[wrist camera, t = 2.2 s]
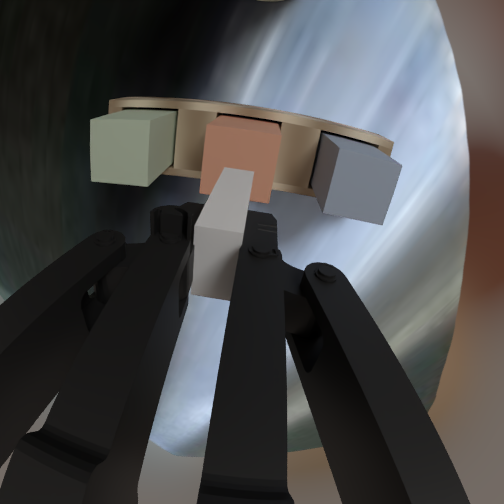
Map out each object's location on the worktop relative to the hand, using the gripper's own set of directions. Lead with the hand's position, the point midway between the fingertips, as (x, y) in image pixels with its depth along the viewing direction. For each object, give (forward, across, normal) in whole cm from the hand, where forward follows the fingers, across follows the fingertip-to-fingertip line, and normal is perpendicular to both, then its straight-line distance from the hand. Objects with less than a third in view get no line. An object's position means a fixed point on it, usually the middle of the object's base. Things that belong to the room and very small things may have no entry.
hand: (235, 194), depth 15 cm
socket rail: (+15, 0, 0) cm, 15 cm away
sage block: (+12, -9, 0) cm, 16 cm away
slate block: (+13, +9, 0) cm, 15 cm away
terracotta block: (+12, 0, 0) cm, 12 cm away
